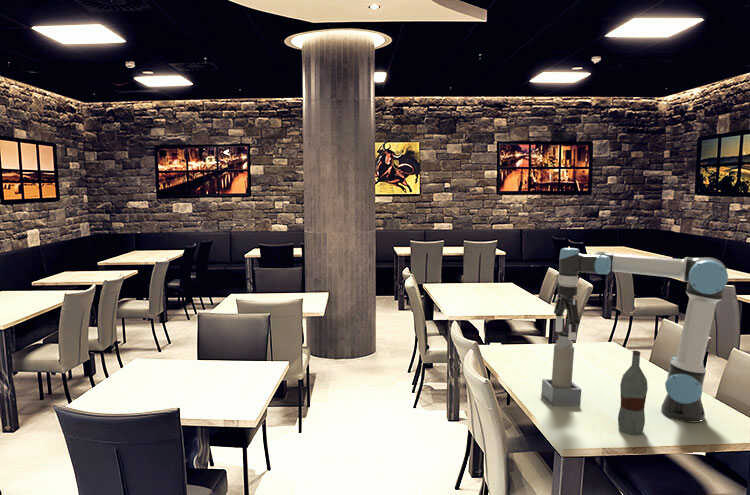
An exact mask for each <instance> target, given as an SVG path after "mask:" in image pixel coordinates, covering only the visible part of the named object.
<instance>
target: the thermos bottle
mask: <svg viewBox="0 0 750 495" xmlns="http://www.w3.org/2000/svg"><path fill="white" fill-rule="evenodd" d="M568 337H569V332H565V331H562V332H558V339H556V341H555V344H554V346H553V358H552V371H551V372H552V373H551V374H552V375H551V379H552V386H553V387H554V388H571V386H572V382H573V369H574V357H575V354H574V353H575V347H574V346H573V345H574V342H573V340H568Z"/></svg>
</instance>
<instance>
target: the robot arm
mask: <svg viewBox="0 0 750 495" xmlns="http://www.w3.org/2000/svg"><path fill="white" fill-rule="evenodd" d="M558 260H559V262H558V263H559V264H558V277H557V280H558V285H557V298H556V299H557V300H556V304H555V306H554V311H553V313H554V314H555V332H556V333H557V332H558V333H560V332H563V324H564V323H563V322H564V313H565V310H566V311H567V315H568V319H569V322H568V333H569V337H568V340H571V341H576V340H577V325H580V316H579V311H578V310H579V309H578V300H577V299H574V297H575V296H578V283H579V273H587V274H598V275H608V274H609V273H610V272H617V273H618V272H620V273H626V274H627V273H628V274H634V275H644V276H645V275H646V276H655V277H663V278H664V277H665V278H673V279H674V278H676V279H681V280H682V281H683V282H687V284H686V290H685V294H687V296H688V303H687V307H686V311H685V316H684V320H683V325H682V331H681V335H680V339H679V344H678V349H677V353H676V356H672V357H671V358H670V362H669V369H668V373H667V378H666V380H665V383H664V386H665V390H666V393H667V394H666V396H665V398H664V400H663V402H662V404H661V408H660V409H661V410H660V411H661V413H662V414H663V415H664V416H665V417H668V418H670V417H671V419H673V418H674V419H673V420H676V419H678V420H677V421H680V420H684V421H683V422H685V421H700V420H703V419H704V420H705V416H706V414H705V409H704V406H703V401H702V395H703V385H704V382H705V376H706V372H707V370H706V368H705V365H704V359H705V355H706V351H707V345H708V341H709V337H710V332H711V328H712V323H713V320H714V319H713V318H714V315H715V310H716V306H717V303H719V302H720V301H722V300H723V297H724V294H725V288H726V285H727V283H728V280H729V273H728V271H727V267H726V266H725V264H724V263H723V262H722V261H721V260H719V259H718V258H715V257H712V256H711V257H707V256H706V257H705V256H704V257H690V256H686V257H684V258H682V259H681V258H673V257H672V258H670V257H660V256H658V257H657V256H649V255H634V254H626V253H625V254H623V253H613V252H612V253H610V252H606V251H597V252H595V253H592V254H591V253H590V254H586V253H585V254H584V253H580V249H579V248H575V247H563V248H561V249H560V252H559V258H558Z"/></svg>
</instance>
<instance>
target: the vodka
mask: <svg viewBox="0 0 750 495" xmlns="http://www.w3.org/2000/svg"><path fill="white" fill-rule="evenodd" d="M640 360H641V351H639V350H632V358H631V365H630V366H629V367H628V369H626V371H624V373H623V374H622V377H621V381H620V406H619V411H618V415H617V425H618V429H619V430H620V432H623V433H625V434H627V433H628V434H627V435H632V434H633V436H638V435H639V436H640V435H642V434H643V432H644V428H645V424H646V418H645V416H646V415H645V407H646V406H645V405H646V399H647V394H648V388H649V386H648V379H647V377H646V375H645V373H644V372H643V370H642V369H641V367H640Z"/></svg>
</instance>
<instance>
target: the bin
mask: <svg viewBox="0 0 750 495" xmlns="http://www.w3.org/2000/svg"><path fill="white" fill-rule="evenodd" d="M541 380H542V381H541V382H542V383H541V396H542V397H543V398H544V399H545V401H547V402H548V404H549V405H551V406H552V407H553V406H555V407H557V406H558V407H566V406H567V407H581V400H582V399H581V398H582V388H580V386H578V385H577V384H576V383H575V382H574V381H572V386H571V388H554V387H553V386H552V378H551V379H548V378H543V379H541Z"/></svg>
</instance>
